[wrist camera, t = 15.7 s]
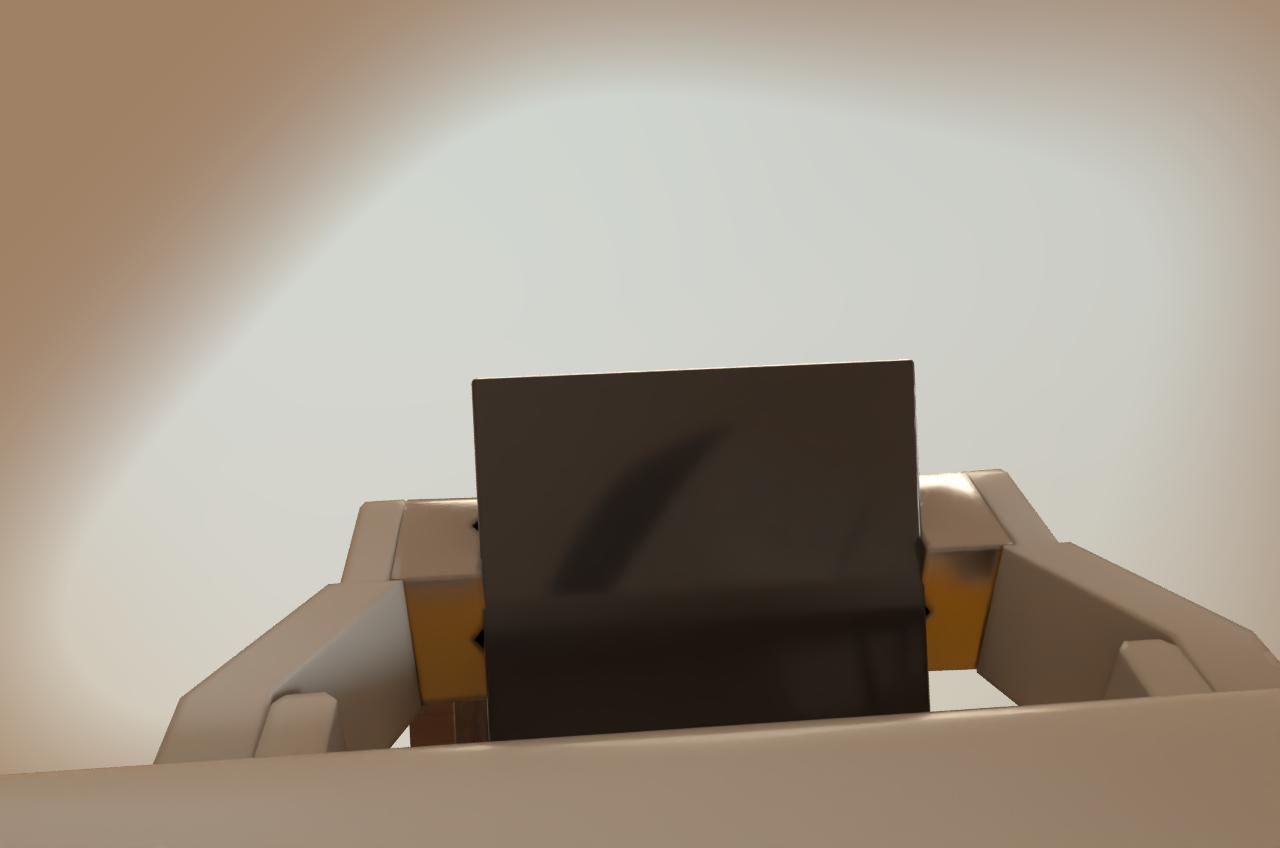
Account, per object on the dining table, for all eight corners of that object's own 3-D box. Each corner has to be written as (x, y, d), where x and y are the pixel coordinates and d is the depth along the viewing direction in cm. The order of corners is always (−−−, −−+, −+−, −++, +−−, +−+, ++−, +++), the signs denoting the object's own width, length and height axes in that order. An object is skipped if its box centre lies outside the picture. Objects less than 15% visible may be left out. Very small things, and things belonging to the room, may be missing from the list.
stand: (855, 1214, 35) (819, 466, 35) (436, 1258, 34) (396, 489, 34) (779, 1007, 48) (752, 454, 48) (470, 1035, 47) (441, 470, 47)
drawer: (935, 799, 11) (915, 358, 11) (493, 831, 11) (470, 378, 11) (698, 560, 31) (690, 400, 31) (537, 569, 31) (529, 407, 31)
